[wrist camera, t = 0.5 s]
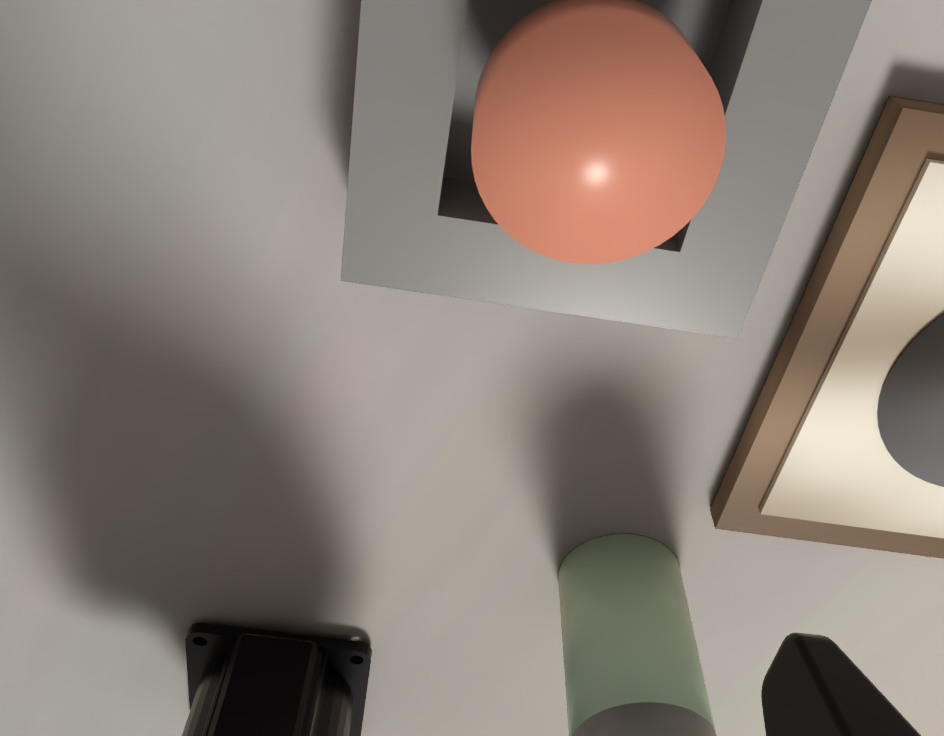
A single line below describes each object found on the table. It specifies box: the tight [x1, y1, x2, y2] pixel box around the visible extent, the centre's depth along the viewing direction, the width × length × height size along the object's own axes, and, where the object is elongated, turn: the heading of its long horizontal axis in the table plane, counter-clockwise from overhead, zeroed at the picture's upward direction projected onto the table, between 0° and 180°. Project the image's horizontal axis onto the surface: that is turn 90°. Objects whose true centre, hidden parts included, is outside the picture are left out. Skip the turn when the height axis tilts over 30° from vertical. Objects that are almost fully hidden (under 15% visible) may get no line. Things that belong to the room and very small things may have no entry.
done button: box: [471, 0, 726, 264], centre depth 16 cm, size 4×4×2 cm
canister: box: [558, 534, 716, 736], centre depth 25 cm, size 4×4×8 cm
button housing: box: [341, 0, 872, 339], centre depth 18 cm, size 9×9×3 cm
